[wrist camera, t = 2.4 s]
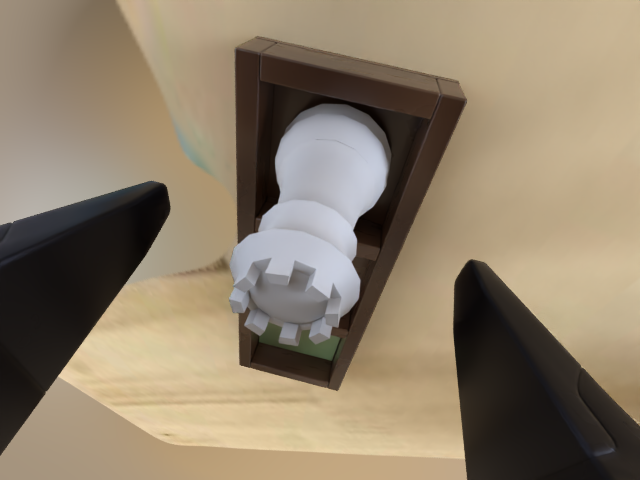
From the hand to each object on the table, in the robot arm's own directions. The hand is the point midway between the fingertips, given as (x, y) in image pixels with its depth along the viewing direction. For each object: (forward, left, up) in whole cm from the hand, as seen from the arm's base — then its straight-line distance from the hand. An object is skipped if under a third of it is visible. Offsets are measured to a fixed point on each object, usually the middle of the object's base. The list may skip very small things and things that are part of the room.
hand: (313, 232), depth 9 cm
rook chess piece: (0, 0, -5) cm, 5 cm away
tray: (0, +6, -5) cm, 8 cm away
